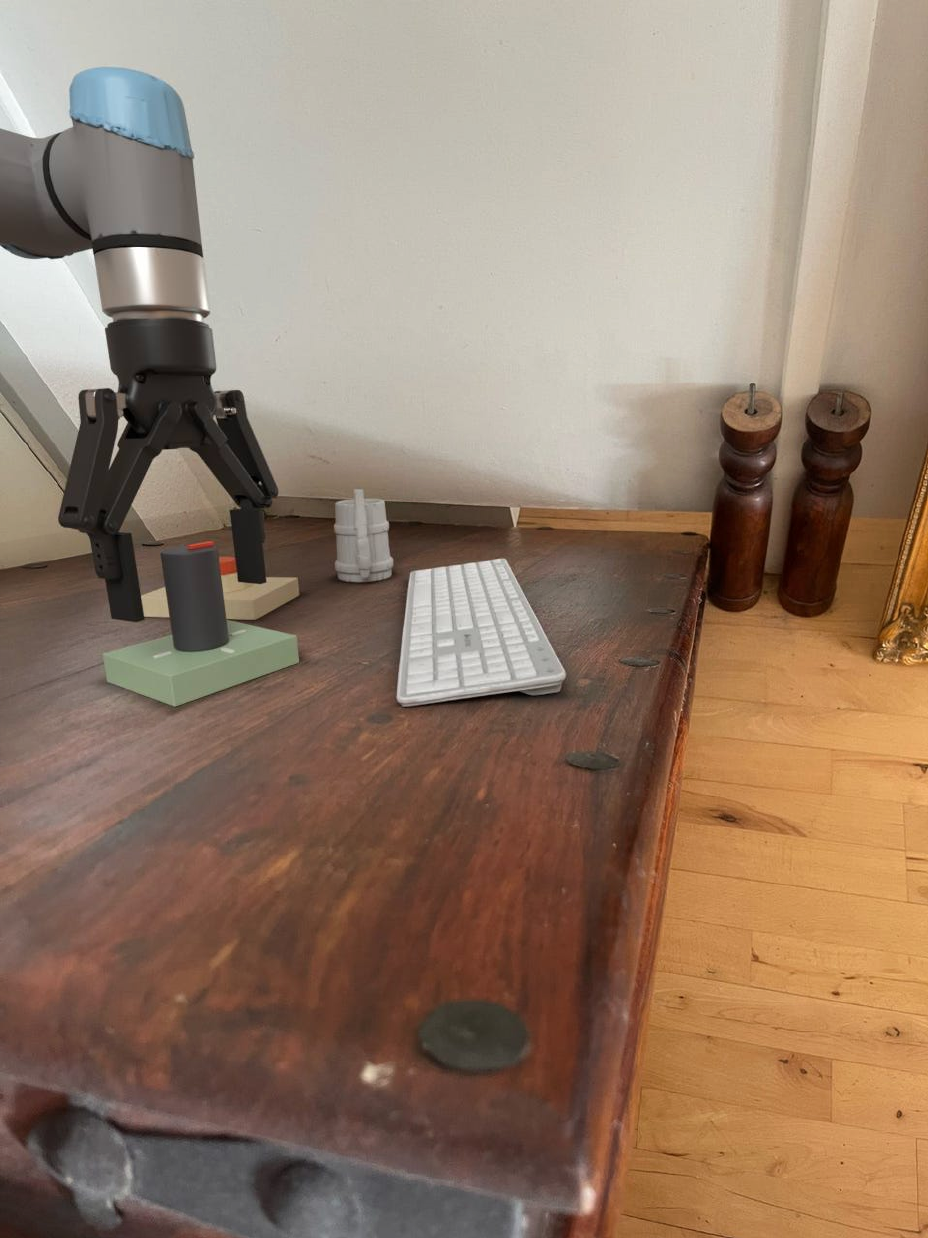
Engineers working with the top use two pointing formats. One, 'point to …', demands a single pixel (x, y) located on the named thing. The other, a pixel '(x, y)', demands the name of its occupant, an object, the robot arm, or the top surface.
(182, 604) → the dial
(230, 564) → the switch
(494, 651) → the keyboard
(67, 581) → the top surface
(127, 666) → the dial panel
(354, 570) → the mug
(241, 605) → the button base
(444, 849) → the top surface
